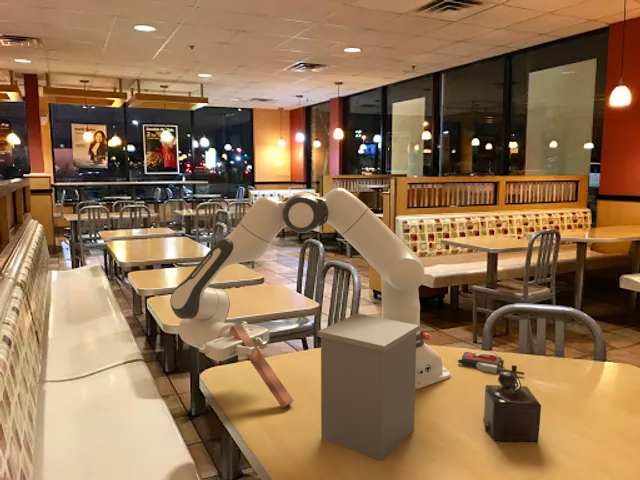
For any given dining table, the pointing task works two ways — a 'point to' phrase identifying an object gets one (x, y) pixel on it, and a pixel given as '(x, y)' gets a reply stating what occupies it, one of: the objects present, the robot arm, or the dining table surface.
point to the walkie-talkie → (484, 362)
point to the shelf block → (368, 383)
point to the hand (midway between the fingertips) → (259, 348)
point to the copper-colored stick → (263, 367)
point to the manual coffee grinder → (511, 410)
